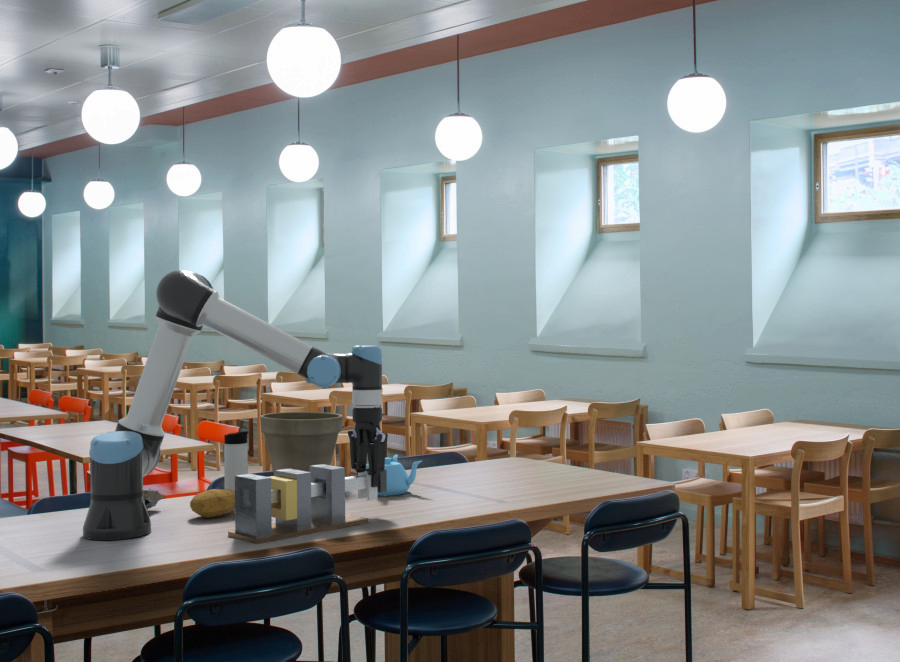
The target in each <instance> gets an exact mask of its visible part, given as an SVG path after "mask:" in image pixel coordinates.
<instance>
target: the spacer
mask: <svg viewBox="0 0 900 662" xmlns="http://www.w3.org/2000/svg"><path fill="white" fill-rule="evenodd" d="M269 477H270V478H271V488H274V489H279V490H281V502H278V503H272V504H271V513H272V518H275V519H276V518H278V519H282V520H292V519H297V480H295V479H289V478H284V477H279V476H274V475H271V476H269Z"/></svg>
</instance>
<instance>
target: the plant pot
mask: <svg viewBox="0 0 900 662" xmlns="http://www.w3.org/2000/svg"><path fill="white" fill-rule="evenodd" d="M343 418H344V417H343V415H342V414H340V413H336V412H335V413H334V412H321V411H320V412H317V411H314V412H313V411H290V412H289V411H286V412H271V413H265V414H262V415H260V416H259V420H260V423H259V424H260V432H261V433H263V436H264V441H265V445H266V448H267V449H266V450H267V453H268V456H269V457H268V458H269V460H270V465H271V469H272V473H273V476H275V470H282V469H295V470H300V471H306V472H310V468H309V466H312V465H320V464H325V465H331V466H332V462H333V461H332V460H333V456H334V452H335V449H336V445H337V442H338V436H339V433H340V432H342V429H343Z"/></svg>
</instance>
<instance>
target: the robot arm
mask: <svg viewBox="0 0 900 662" xmlns="http://www.w3.org/2000/svg"><path fill="white" fill-rule="evenodd" d="M156 301H157V303H158V308H157V311H156V314H155V319H156V321H157V323H158V328H157V331H156V333H155V336H154V339H153V342H152V344H151V347H150V350H149V352H148V356H147V359H146V361H145V365H144V367H143V370H142V373H141V374H140V378H139V381H138V384H137V387H136V389H135V391H134V396H133V398H132V402H131V404H130V406H129V410H128V411H127V412H128V413H127V415H126V416H124V417H123V418H120V419H118V422H117V424H116V426H115V430H114V431H109V432H106V433H101V434H98V435H96V436H94V437H93V438H92V439H91V440H90V448H89V451H88V452H89V461H90V463H89V466H90V468H89V474H90V479H89V480H90V504H89V508H88V511H87V513H86V517H85V519H84V523H83V525H82V537H83V538H84V539H87V540H95V541H114V540H116V541H117V540H118V541H119V540H126V539H127V540H128V539H133V538H137V537H143V536H146V535H148V534H149V533H152V521H151V518H150V514H149V512H148V510H147V509H146V506H145V504H144V501H143V489H144V477H146V476H148V475H149V474H151V473H152V472H153V471H154V469H155V468H156V467H157V466H158V464H159V462H160V458H161V452H162V451H161V446H162V443H163V441H164V437H165V434H166V433H165V432H164V429H163V427H162V425H163V422H164V419H165V416H166V413H167V410H168V408H169V404H170V402H171V399H172V397H173V393H174V391H175V388H176V385H177V382H178V380H179V377H180V374H181V370H182V367H183V365H184V363H185V359H186V356H187V353H188V351H189V348H190V344H191V342H192V339H193V337H194V336H196V335H198V334H200V333H201V332H202V330H203V327H206V328H208V329H211V330H213V331H214V332H216V333H218V334H220V335H222V336H224V337H225V338H228V339H230V340H231V341H234V342H235V343H237V344H239V345H242V346H243V347H244V348H247V349H248V350H251V351H252V352H254V353H256V354H259V355H261V356H263V357H264V358H266V359H267V360H269V361H272V362H274V363H276V364H278V365H280V366H281V367H284V368H285V369H287V370H289V371H291V372H293V373H295V374H297V375H299V376H300V377H302V378H304V381H305V382H306V383H307V384H312V385H315V386H316V387H319V388H328V387H332V386H333V385H335V384H351V385H352V386H351V387H352V389H351V390H352V391H351V392H352V393H351V394H352V395H351V396H352V398H351V404H352V406H353V408H352V421H353V423H355V425H354V429H352V430H350V429H349V430H348V431H347V435H348V438H349V450H350V452H349V453H350V467H351V469H352V470H355V472H356V476H357V475H364V474H367V488H366V489H360V490H357V499H361V500H362V499H366V498H367V499H366V500H367V501H375V500H378V495H377V487H378V474H379V473H380V472H384V468H385V458H386V449H387V448H386V445H387V444H386V443H387V440H388V436H389V435H388V433H383V431H381V427H380V422H382V420H383V407H381V405H382V404H383V360H382V358H383V356H382V354H383V353H382V349H381V348H380V346H378V345H354V346H353V347H352V349H351V352H348V353H326V352H324V351H322V350H320V349H318V348H316V347H314V346H312V345H310V344H309V343H306V342H305V341H303V340H301V339H299V338H297V337H295V336H293V335H291V334H289V333H288V332H286V331H284V330H282V329H280V328H278V327H277V326H274V325H272V324H271V323H268V322H267V321H265V320H263V319H261V318H259V317H257V316H256V315H253V314H252V313H251V312H248V311H246V310H244V309H243V308H241V307H238V306H237V305H235V304H233V303H231V302H229V301H227V300H225V299H223V298H222V297H220V295H219V292H218V291H217V290H215V289H214V287H213V285H212V283H211V282H210V281H209V280H208V279H207V278H206V277H205V276H204V275H201V274H199V273H197V272H193V271H189V270H185V269H184V270H183V269H178V270H172V271H171V272H169V273H167V274H164V275H163V277H162V278H161V280H160V281H159V283H158V284H157V287H156ZM367 460H368V461H367ZM367 462H368V463H367ZM366 464H369V467H368V468H369V472H366V471H368V469H366V468H367V467H366ZM364 471H365V472H364Z"/></svg>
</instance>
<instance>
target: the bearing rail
mask: <svg viewBox="0 0 900 662" xmlns="http://www.w3.org/2000/svg"><path fill="white" fill-rule="evenodd" d="M309 468H310V472H306V471H300V470H295V469H282V470H275V476H279V477H284V478H289V479H295V480H297V519H292V520H282V519H278V518H275V523H272V521H273V520H272V518H273V517H272V513H271V478H270V476H264V475H257V474H254V473H248V474H243V475H236V476H235V509H234V528H235V529H234V530H231V531H230V530H229V531H227V536H228V537H231V538H234V539H236V540H237V539H238V540H241V541H243V542H244V541H245V542H248V543H251V544H255V545H258V544H264V543H269V542H273V541H279V540H284V539H289V538H290V539H291V538H295V537H300V536H304V535H305V536H306V535H310V534H314V533H321V532H325V531H326V532H327V531H331V530H337V529H342V528H346V527H351V526H358V525H363V524H367V523H369V518H367V517H363V516H359V515H355V514H349V513H346V492H345V477H346V470H345V469H346V467H343V466H338V465H337V466H336V465H332V464H331V465H325V464H320V465H312V466H309ZM323 480H326V495H322V496H316V497H311V482H316V481H323Z"/></svg>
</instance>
